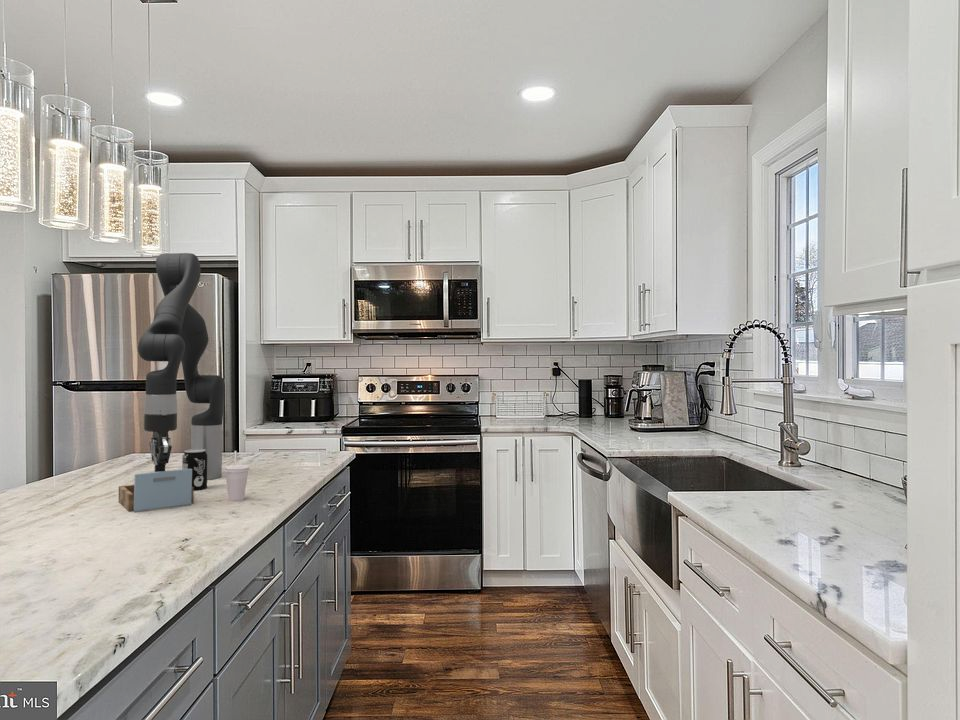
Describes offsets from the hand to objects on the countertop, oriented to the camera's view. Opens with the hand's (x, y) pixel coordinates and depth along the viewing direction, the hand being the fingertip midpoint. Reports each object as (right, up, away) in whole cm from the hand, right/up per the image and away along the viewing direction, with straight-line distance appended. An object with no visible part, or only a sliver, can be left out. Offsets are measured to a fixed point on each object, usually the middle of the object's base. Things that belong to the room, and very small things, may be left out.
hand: (159, 479), depth 160 cm
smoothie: (+16, -8, +9) cm, 20 cm away
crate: (-3, -8, +3) cm, 9 cm away
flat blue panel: (+2, -7, -2) cm, 7 cm away
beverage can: (-1, -8, +22) cm, 23 cm away
